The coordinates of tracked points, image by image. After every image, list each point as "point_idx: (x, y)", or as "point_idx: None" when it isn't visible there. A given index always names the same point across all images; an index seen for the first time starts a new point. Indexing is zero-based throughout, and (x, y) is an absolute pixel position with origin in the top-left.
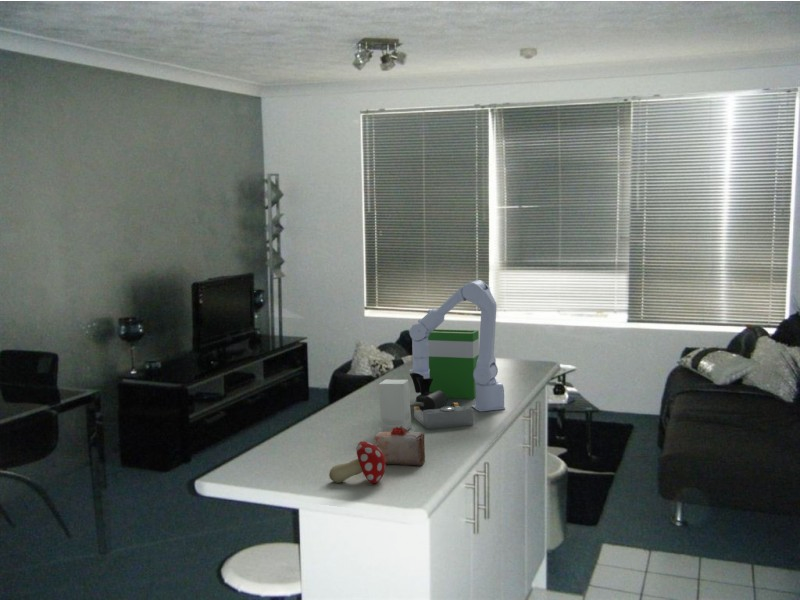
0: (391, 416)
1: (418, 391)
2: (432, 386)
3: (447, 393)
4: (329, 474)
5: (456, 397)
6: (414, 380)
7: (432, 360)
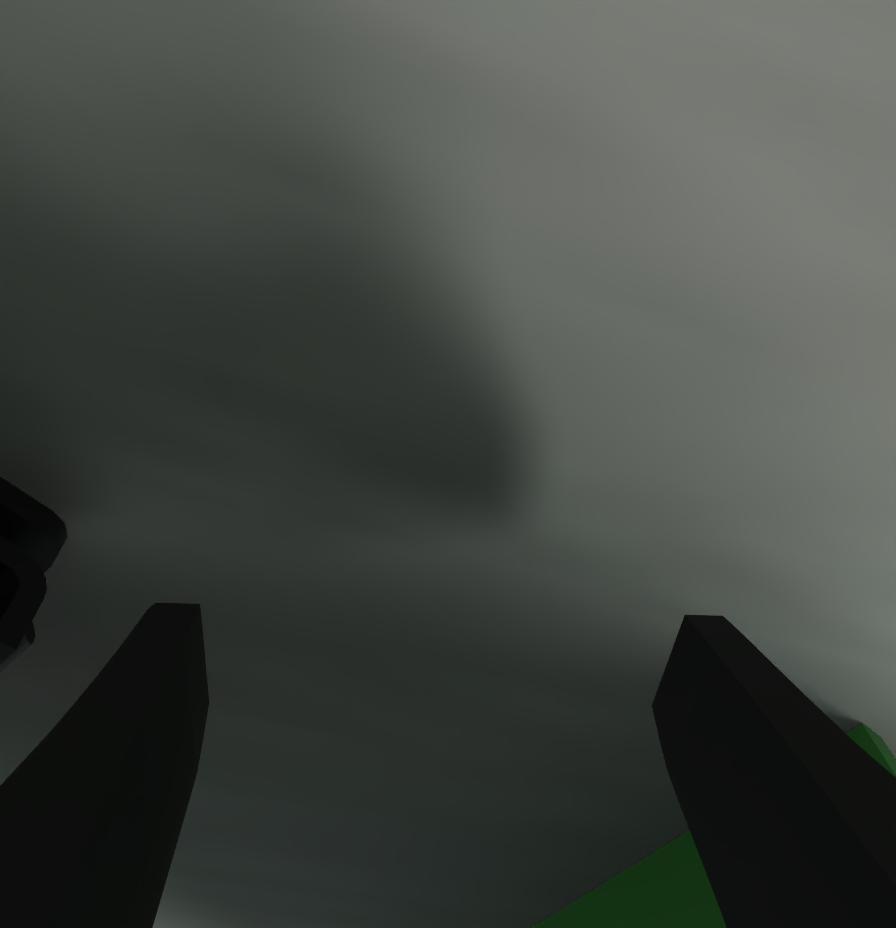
0: None
1: (682, 676)
2: None
3: (646, 918)
4: None
5: (545, 924)
6: (880, 911)
7: None
